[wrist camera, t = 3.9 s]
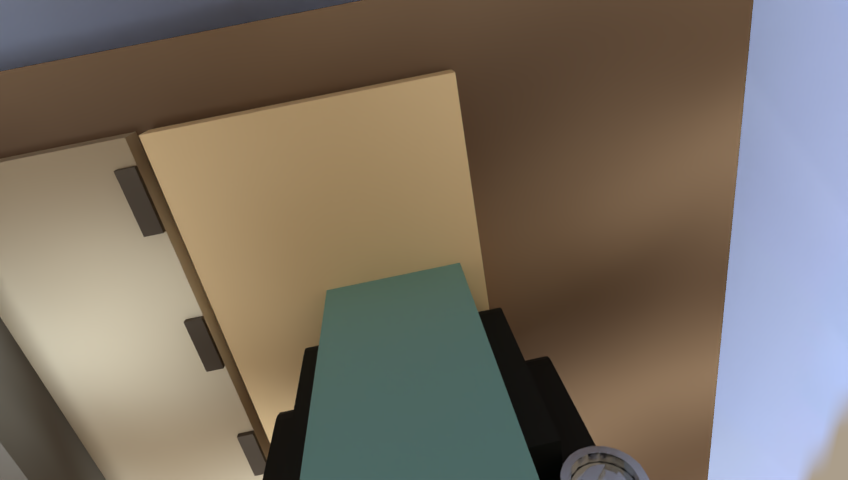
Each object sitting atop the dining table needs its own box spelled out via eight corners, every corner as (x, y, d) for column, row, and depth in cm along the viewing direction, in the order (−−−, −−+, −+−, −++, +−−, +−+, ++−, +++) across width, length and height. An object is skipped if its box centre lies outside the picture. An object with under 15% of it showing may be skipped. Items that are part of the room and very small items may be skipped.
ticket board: (-272, 125, 10) (-561, 178, 7) (711, -68, 11) (859, -101, 8) (85, 585, 17) (20, 719, 14) (680, 456, 18) (750, 558, 14)
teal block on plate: (149, 129, 10) (-181, 310, 4) (450, 68, 10) (574, 158, 4) (323, 548, 15) (296, 882, 9) (515, 506, 15) (607, 811, 10)
